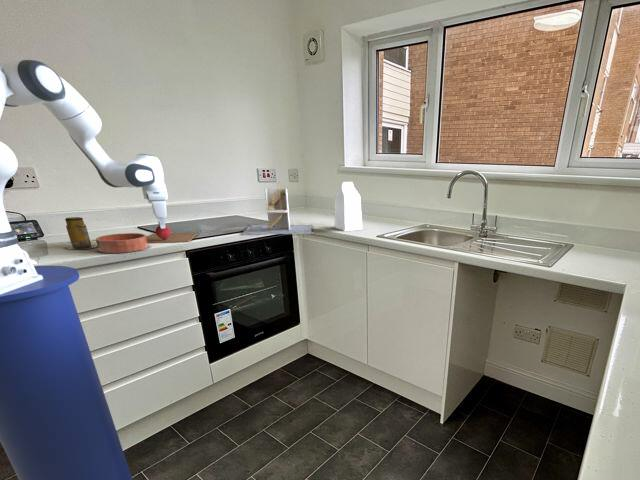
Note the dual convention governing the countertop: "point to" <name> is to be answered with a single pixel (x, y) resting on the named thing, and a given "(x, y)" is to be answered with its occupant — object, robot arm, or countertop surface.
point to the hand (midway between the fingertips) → (162, 226)
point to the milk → (348, 208)
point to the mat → (171, 238)
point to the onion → (163, 232)
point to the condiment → (78, 233)
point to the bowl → (122, 242)
